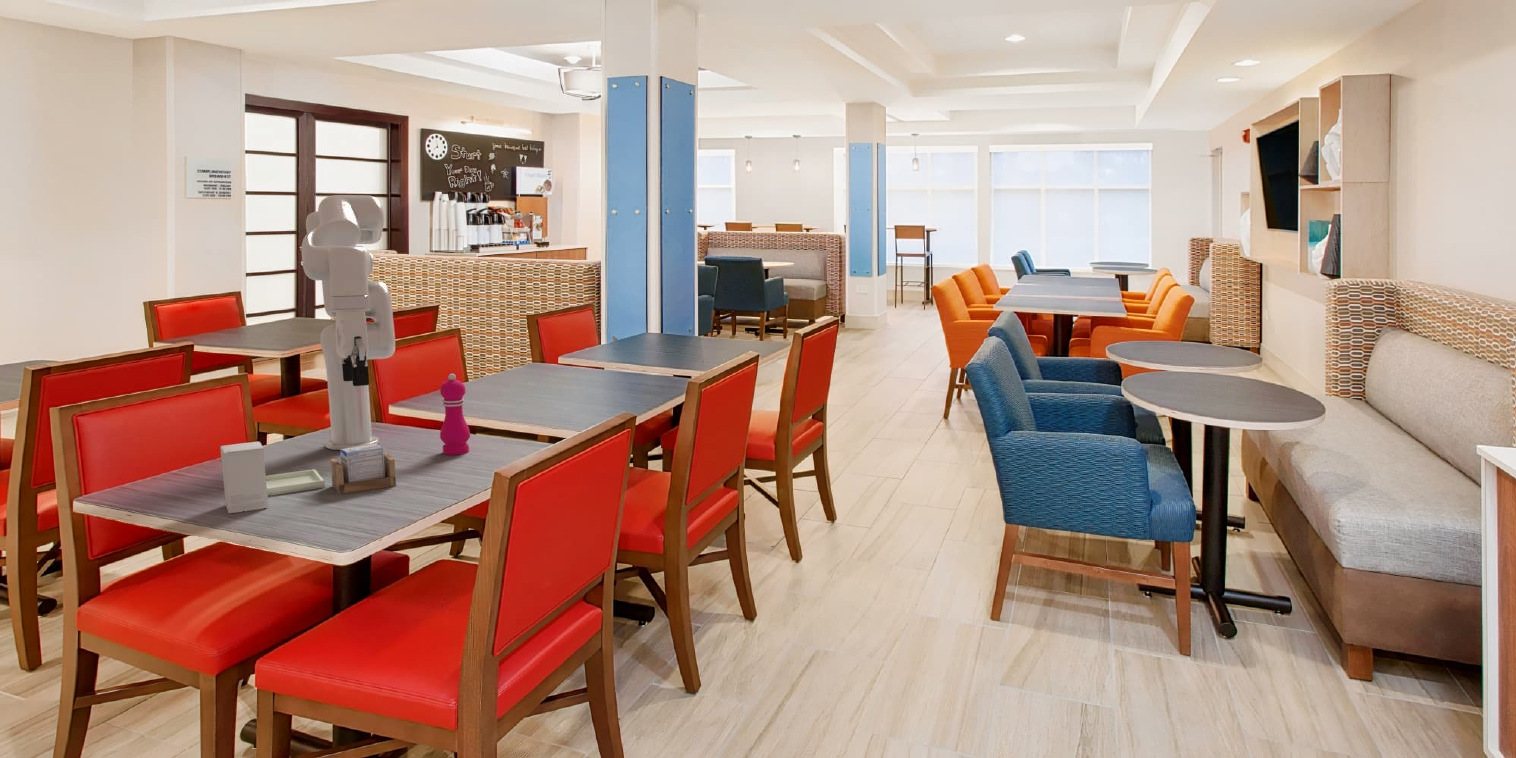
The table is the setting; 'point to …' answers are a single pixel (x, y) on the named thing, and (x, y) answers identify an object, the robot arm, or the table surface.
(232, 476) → the supplement box
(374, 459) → the medicine box
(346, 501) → the table surface
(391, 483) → the holder
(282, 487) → the tray
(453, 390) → the pepper mill
